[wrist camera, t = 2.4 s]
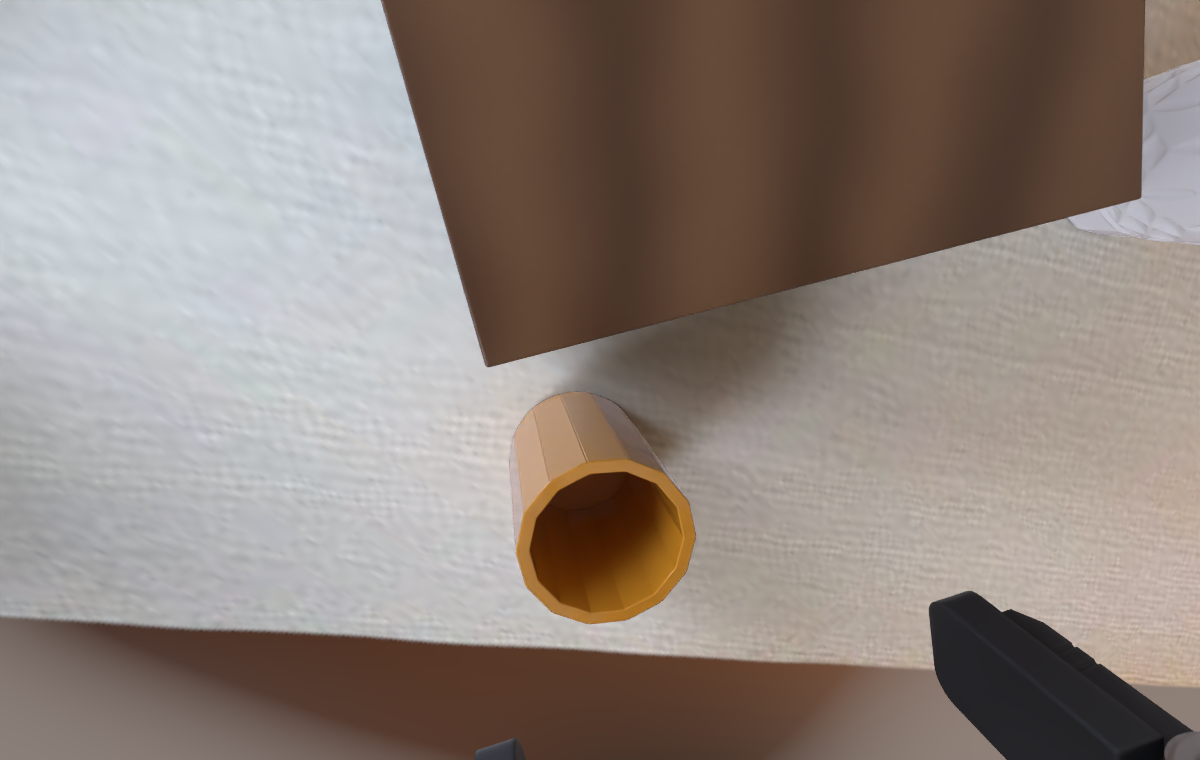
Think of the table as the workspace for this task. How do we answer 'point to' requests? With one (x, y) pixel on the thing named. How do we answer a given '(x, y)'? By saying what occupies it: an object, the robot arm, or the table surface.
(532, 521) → the ochre cup
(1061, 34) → the shelf
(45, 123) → the table surface
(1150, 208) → the white cup
